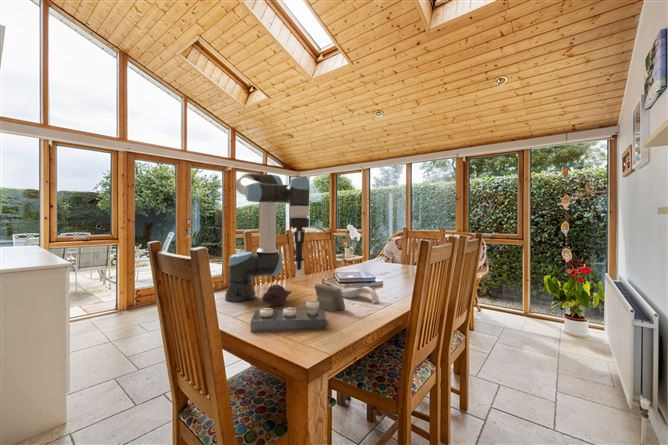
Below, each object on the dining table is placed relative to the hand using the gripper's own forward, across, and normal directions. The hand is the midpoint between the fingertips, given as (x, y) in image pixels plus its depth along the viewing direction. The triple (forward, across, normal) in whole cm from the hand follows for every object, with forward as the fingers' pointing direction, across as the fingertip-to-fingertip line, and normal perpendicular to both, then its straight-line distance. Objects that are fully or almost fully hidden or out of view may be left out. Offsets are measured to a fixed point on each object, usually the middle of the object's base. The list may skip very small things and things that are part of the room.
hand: (299, 277), depth 120 cm
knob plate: (+19, 0, +4) cm, 19 cm away
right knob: (+15, +1, -6) cm, 16 cm away
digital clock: (+19, +23, -14) cm, 33 cm away
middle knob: (+18, 0, +3) cm, 19 cm away
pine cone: (+19, +27, +12) cm, 35 cm away
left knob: (+18, 0, +12) cm, 22 cm away
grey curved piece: (+19, +38, -30) cm, 53 cm away
